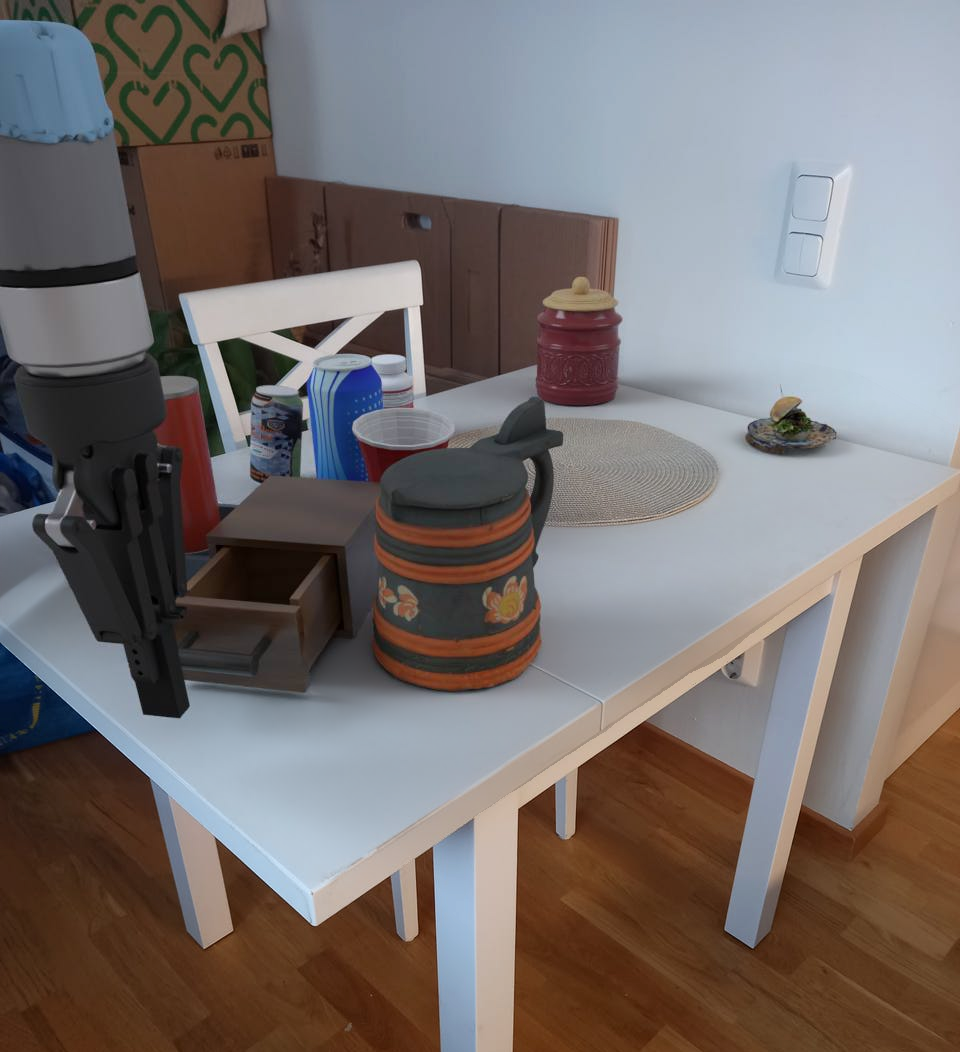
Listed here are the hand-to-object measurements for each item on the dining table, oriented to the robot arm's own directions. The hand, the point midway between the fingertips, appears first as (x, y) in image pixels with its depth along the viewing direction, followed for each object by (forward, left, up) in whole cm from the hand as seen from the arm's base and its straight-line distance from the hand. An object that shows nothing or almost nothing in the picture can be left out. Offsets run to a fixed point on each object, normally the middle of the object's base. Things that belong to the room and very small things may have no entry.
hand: (166, 710), depth 63 cm
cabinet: (0, +28, -6) cm, 29 cm away
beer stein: (+17, +23, -6) cm, 29 cm away
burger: (+49, +81, -6) cm, 95 cm away
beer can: (-4, +53, -6) cm, 54 cm away
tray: (-16, +35, -6) cm, 39 cm away
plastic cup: (+5, +45, -6) cm, 46 cm away
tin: (-16, +35, -5) cm, 39 cm away
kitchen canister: (+18, +99, -6) cm, 101 cm away
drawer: (0, +15, -5) cm, 16 cm away
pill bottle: (-5, +74, -6) cm, 75 cm away
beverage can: (-14, +55, -6) cm, 57 cm away
